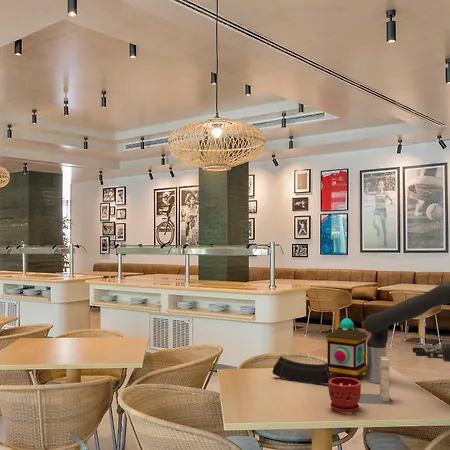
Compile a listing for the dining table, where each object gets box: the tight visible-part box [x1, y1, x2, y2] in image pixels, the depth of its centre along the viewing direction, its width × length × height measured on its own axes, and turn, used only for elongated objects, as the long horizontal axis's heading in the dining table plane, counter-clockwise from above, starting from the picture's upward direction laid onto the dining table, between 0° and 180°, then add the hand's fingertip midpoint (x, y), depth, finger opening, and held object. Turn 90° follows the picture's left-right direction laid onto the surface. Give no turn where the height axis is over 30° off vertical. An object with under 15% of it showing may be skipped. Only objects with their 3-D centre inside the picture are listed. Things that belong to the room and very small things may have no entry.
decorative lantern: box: [325, 317, 369, 380], centre depth 282 cm, size 20×20×30 cm
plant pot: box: [328, 376, 362, 414], centre depth 225 cm, size 13×13×12 cm
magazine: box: [272, 355, 332, 385], centre depth 269 cm, size 17×3×30 cm
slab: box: [379, 356, 390, 402], centre depth 238 cm, size 6×3×18 cm, turn 172°
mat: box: [358, 393, 394, 406], centre depth 240 cm, size 15×22×1 cm
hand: (414, 351), depth 237 cm, fingers open, 6 cm apart
